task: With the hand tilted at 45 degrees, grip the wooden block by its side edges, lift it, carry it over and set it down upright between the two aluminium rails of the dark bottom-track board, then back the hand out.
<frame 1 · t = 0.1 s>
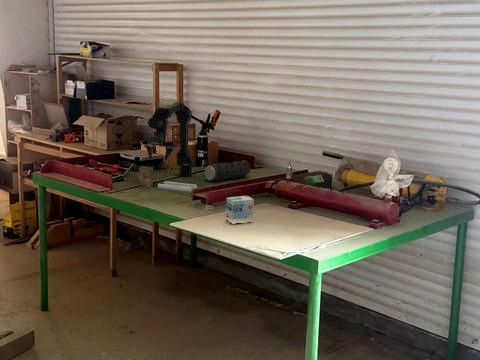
hand: (157, 159, 310), 15 cm above the table, tool pointing down, fingers open, 9 cm apart
light bulb box: (239, 222, 257), on the table
track board: (177, 189, 312), on the table
packaged item: (306, 192, 317), on the table
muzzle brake: (227, 179, 340), on the table
wooden block: (146, 185, 319), on the table
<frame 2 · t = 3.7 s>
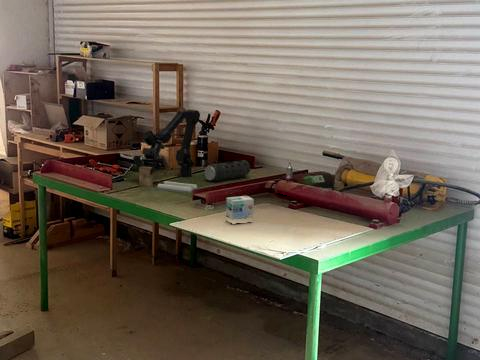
hand: (144, 173, 316), 7 cm above the table, tool tilted 45°, fingers closed on wooden block, 6 cm apart
wooden block: (146, 185, 319), on the table, touching gripper
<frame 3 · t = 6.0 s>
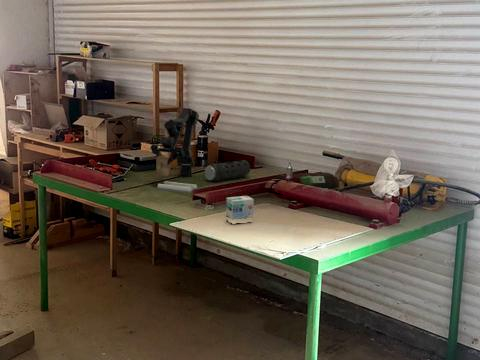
hand: (162, 163, 311), 13 cm above the table, tool tilted 45°, fingers closed on wooden block, 6 cm apart
wooden block: (163, 175, 314), point 7 cm above the table, touching gripper
when the fingers open (9 cm above the table, at t = 8.6 s): wooden block drops 1 cm, resting on track board.
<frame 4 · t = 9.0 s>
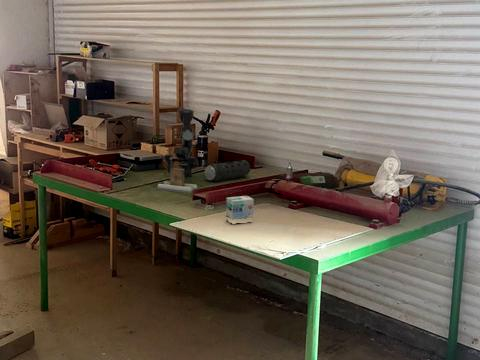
hand: (176, 173, 309), 9 cm above the table, tool tilted 45°, fingers open, 9 cm apart
wooden block: (177, 187, 312), point 1 cm above the table, touching track board
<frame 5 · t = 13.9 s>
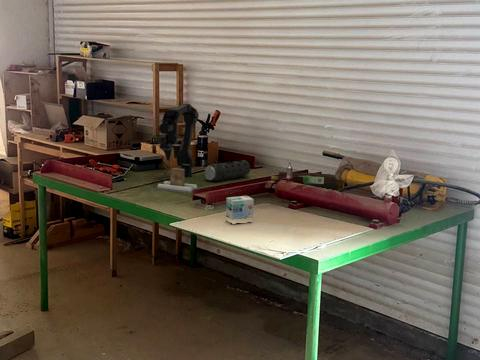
hand: (171, 159, 325), 13 cm above the table, tool pointing down, fingers open, 9 cm apart
at the end: wooden block inside the target area on the track board (0.0 cm from its centre), point 1.0 cm above the track board's base; wooden block tilted 0°; the gripper is holding nothing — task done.
